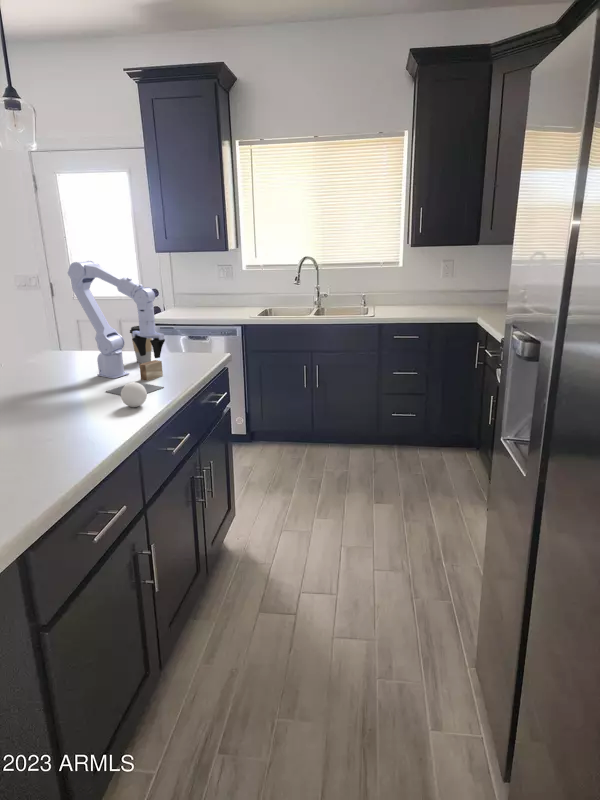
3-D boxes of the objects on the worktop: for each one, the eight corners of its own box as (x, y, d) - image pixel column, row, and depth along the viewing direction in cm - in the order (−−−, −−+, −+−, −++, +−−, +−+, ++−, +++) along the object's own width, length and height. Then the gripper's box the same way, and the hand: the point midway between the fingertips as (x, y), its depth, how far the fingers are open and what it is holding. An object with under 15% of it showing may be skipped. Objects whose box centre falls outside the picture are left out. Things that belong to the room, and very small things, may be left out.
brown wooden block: (140, 379, 199) (139, 364, 197) (156, 374, 205) (155, 360, 203) (147, 380, 197) (146, 365, 195) (162, 376, 203) (161, 361, 202)
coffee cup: (145, 358, 232) (142, 324, 227) (160, 361, 227) (157, 326, 222) (128, 362, 224) (124, 327, 220) (142, 365, 219) (138, 329, 215)
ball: (134, 412, 163) (132, 387, 160) (116, 408, 166) (113, 384, 164) (153, 405, 169) (151, 381, 167) (135, 401, 173) (133, 378, 171)
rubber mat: (105, 392, 183) (105, 391, 183) (136, 382, 194) (136, 381, 194) (134, 398, 176) (133, 397, 176) (163, 387, 188) (163, 387, 188)
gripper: (124, 321, 194) (128, 356, 199) (153, 324, 187) (156, 360, 192) (139, 318, 200) (142, 353, 204) (167, 321, 193) (170, 357, 197)
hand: (150, 356), depth 198 cm, fingers open, 7 cm apart
